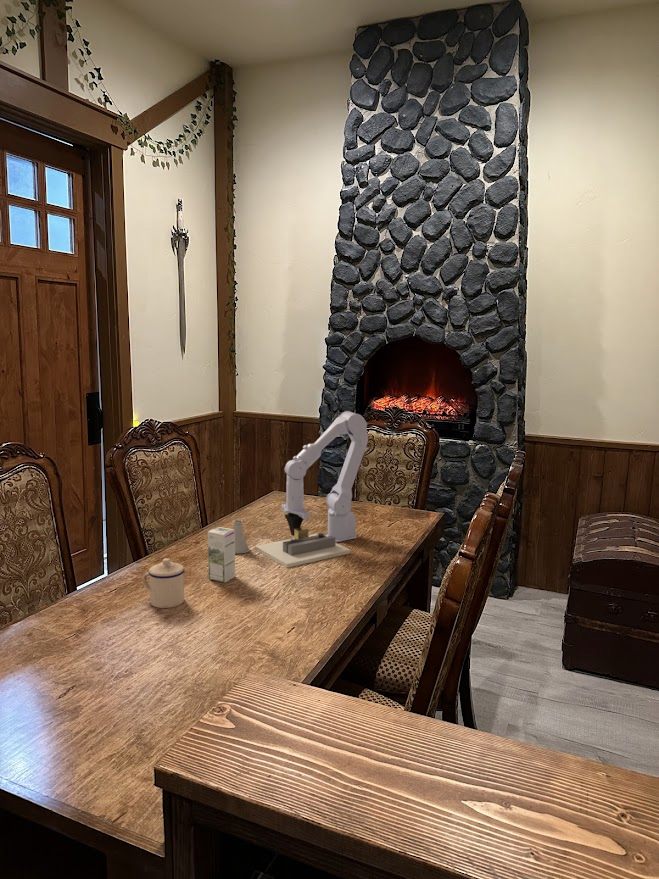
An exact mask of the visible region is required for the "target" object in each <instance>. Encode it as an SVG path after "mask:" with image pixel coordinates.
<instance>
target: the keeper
mask: <svg viewBox="0 0 659 879" xmlns="http://www.w3.org/2000/svg"><path fill="white" fill-rule="evenodd" d="M308 535H309V528H308V527H306V526H301V527H300V528H296V529H294V536H293V538H294V540H296V539H301V538H306V537H308Z"/></svg>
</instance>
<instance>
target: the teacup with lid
mask: <svg viewBox="0 0 659 879" xmlns="http://www.w3.org/2000/svg"><path fill="white" fill-rule="evenodd" d="M185 571H186V570H185V567H184V566H183V565H182V564H180V563H177V562H173V561H171V559H170V558H162V561H161V562H160V563H157V564H154V565H153V566H151V567H149V569H148V571H147V572H145V573H144V574H143V575H142V578H141V581H142V585H143V586H144V588H145V589H146V590H147V591H149V595H150V596H149V598H150V604H151V606H153V607H154V608H157V609H171V608H175V607H178V606H180V605H182V604H183V603H184V601H185V576H184V574H185ZM147 576H149V583H148V581H147Z"/></svg>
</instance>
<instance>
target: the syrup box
mask: <svg viewBox="0 0 659 879" xmlns="http://www.w3.org/2000/svg"><path fill="white" fill-rule="evenodd" d="M207 549H208V550H207V552H208V554H207V557H208V560H207V561H208V580H211V581H215V582H221V583H224V584H225V583H227V582H229V581H230V579H231V580H233V579H234V578H235V577H236V554H235V530H234V528H229V527H221V526H217V527H214V528H211V529H210V530H208V531H207Z"/></svg>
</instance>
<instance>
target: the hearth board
mask: <svg viewBox="0 0 659 879" xmlns="http://www.w3.org/2000/svg"><path fill="white" fill-rule="evenodd" d="M316 535H318V534H317V533H312V534H308V537H311V536H316ZM291 540H294V537H293V538H287V539H283V540H279V541H273V542H268V543H263V544H258V545H254V550H255V551H256V552H259V553H260V554H262V555H264V556H266V557H268V558H269V559H270V560H272V561H274V562H276V563H277V564H279V565H281V566H283V567H285V568H286V569H287V568H291V567H296V566H300V565H305V564H309V562H310V563H313V562H317V561H323V560H327V559H331V558H335V557H339V556H340V557H341V556H343V555H349V554H351V549H350V548H348V547H346V546H343V545H341V544H340V543H339V544H338V542H336V537H333V536H328V537H323V538H318V539H313V540H308V541H303V542H298V543H293V544H289V545H288V553H285V552H284V551H283V542H286V541H291Z"/></svg>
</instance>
